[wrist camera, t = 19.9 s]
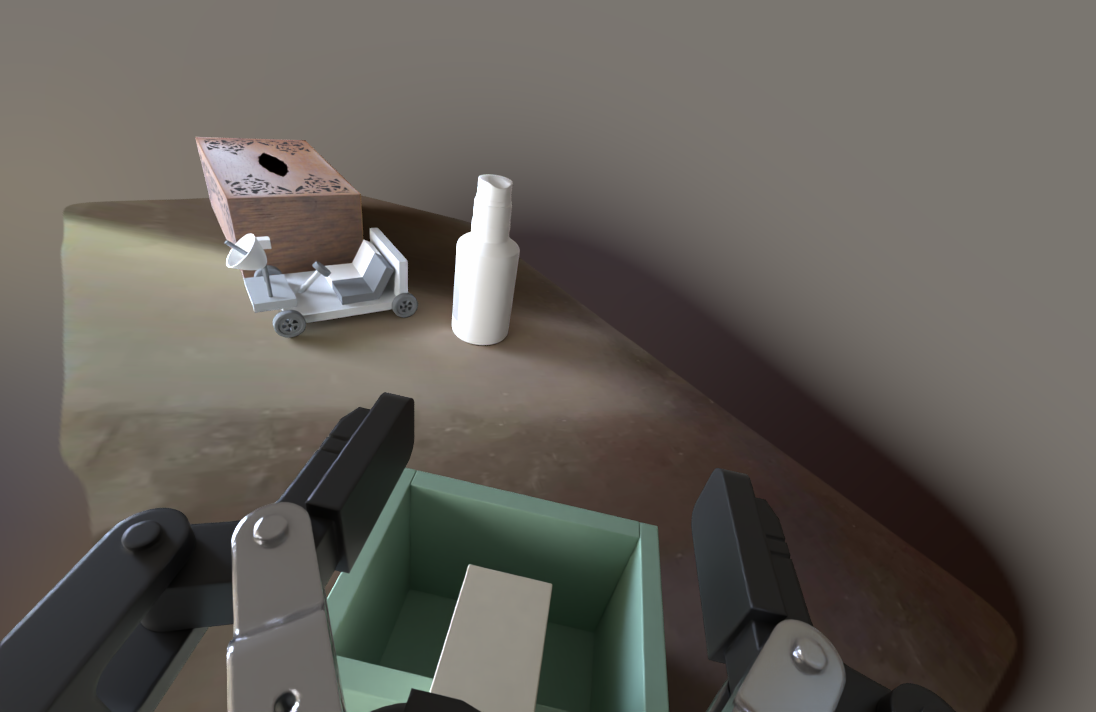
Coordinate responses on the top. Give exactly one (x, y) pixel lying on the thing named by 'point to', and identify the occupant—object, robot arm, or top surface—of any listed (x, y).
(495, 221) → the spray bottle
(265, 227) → the tissue box cover
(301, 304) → the toy car
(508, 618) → the clip
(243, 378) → the top surface
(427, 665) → the bin
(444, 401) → the top surface
